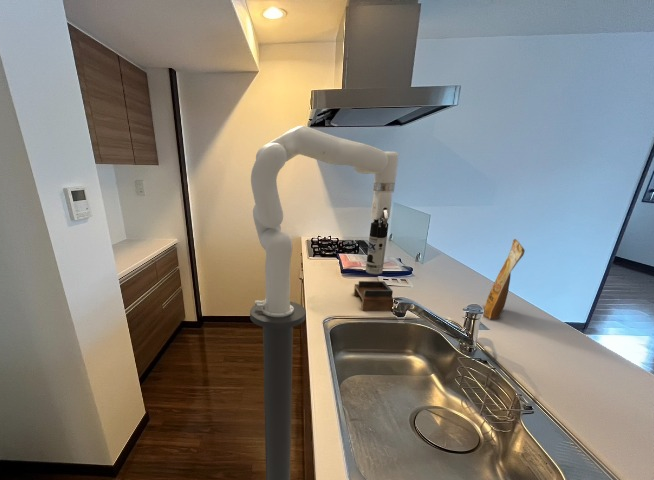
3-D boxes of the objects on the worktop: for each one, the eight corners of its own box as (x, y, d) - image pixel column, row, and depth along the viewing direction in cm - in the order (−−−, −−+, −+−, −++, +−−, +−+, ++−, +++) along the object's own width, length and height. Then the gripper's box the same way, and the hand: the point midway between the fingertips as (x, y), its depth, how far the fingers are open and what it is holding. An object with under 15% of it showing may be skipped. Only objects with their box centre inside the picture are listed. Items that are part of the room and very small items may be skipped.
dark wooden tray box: (362, 310, 128) (364, 293, 125) (353, 294, 145) (355, 279, 142) (392, 310, 127) (395, 293, 125) (380, 294, 144) (382, 279, 141)
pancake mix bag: (505, 306, 130) (524, 238, 120) (503, 323, 116) (526, 247, 105) (485, 303, 134) (503, 236, 123) (482, 319, 119) (501, 245, 109)
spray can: (362, 271, 132) (367, 222, 125) (374, 269, 135) (379, 221, 127) (373, 275, 127) (379, 224, 119) (386, 273, 129) (392, 223, 122)
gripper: (368, 187, 127) (363, 232, 133) (379, 189, 111) (374, 240, 117) (387, 187, 126) (381, 232, 133) (401, 189, 110) (394, 240, 117)
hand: (378, 235), depth 125 cm, fingers closed on spray can, 6 cm apart
